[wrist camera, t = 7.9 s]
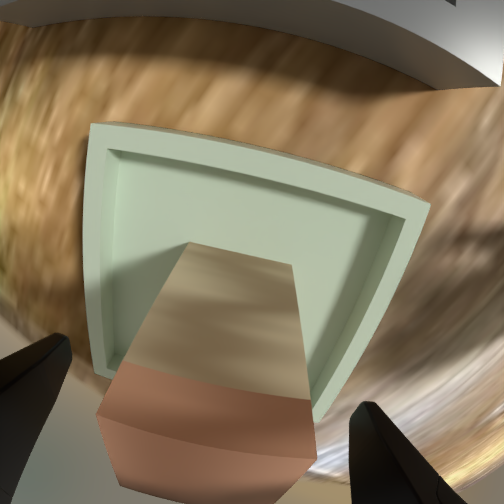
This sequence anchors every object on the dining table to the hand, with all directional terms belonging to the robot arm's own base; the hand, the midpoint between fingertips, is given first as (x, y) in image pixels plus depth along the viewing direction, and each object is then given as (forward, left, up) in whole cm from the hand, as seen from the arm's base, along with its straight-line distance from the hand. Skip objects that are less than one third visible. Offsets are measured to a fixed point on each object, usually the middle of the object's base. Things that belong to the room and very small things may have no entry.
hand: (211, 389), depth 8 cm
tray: (0, 0, -6) cm, 6 cm away
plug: (0, 0, -5) cm, 5 cm away
